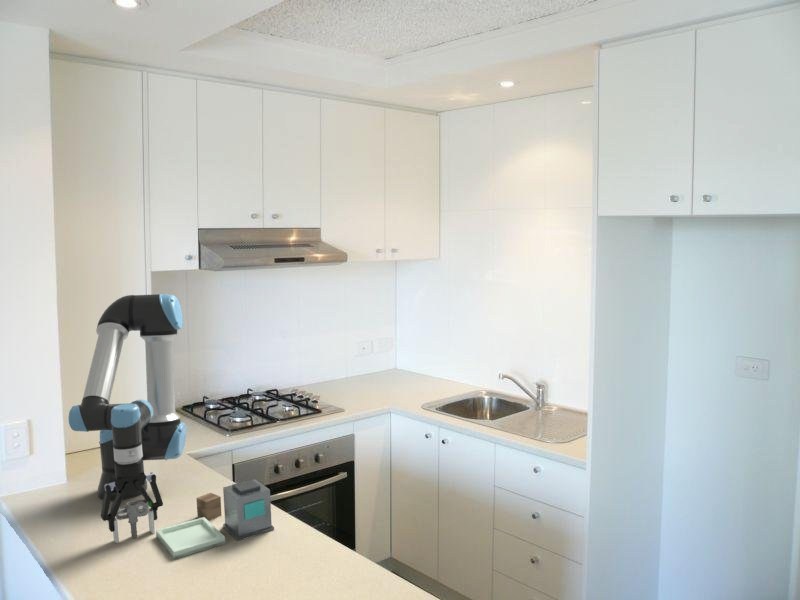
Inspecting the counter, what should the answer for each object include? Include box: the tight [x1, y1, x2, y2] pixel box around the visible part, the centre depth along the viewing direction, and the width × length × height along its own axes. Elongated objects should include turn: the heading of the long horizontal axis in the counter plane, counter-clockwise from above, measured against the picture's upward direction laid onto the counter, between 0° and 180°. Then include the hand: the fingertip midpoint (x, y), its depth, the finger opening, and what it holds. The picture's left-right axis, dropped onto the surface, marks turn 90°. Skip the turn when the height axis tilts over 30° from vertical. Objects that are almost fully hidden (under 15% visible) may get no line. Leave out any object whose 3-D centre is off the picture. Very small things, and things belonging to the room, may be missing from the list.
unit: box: [222, 479, 275, 542], centre depth 204 cm, size 11×11×13 cm
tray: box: [155, 517, 226, 560], centre depth 197 cm, size 16×14×2 cm
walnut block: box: [196, 492, 222, 522], centre depth 213 cm, size 5×5×6 cm
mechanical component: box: [115, 499, 152, 539], centre depth 200 cm, size 3×10×10 cm, turn 111°
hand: (134, 536), depth 200 cm, fingers open, 9 cm apart
